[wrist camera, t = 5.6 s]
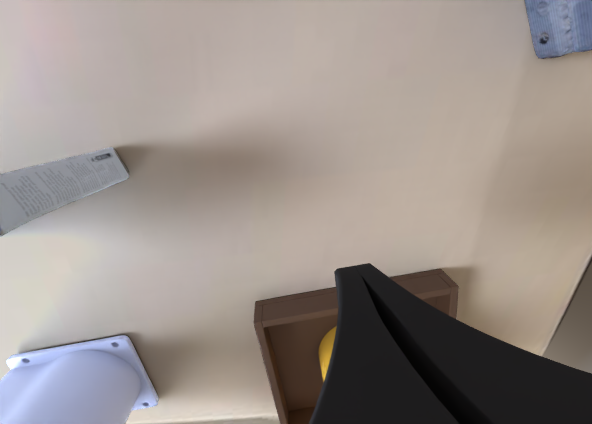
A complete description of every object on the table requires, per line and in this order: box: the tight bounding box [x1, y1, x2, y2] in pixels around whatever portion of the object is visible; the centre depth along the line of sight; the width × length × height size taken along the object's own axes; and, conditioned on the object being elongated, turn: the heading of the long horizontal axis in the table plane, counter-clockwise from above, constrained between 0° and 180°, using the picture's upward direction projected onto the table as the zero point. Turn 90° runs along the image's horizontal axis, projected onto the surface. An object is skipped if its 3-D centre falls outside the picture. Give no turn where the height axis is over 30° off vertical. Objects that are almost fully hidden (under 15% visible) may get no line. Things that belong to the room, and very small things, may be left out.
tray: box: [254, 269, 459, 424], centre depth 24 cm, size 15×13×2 cm
